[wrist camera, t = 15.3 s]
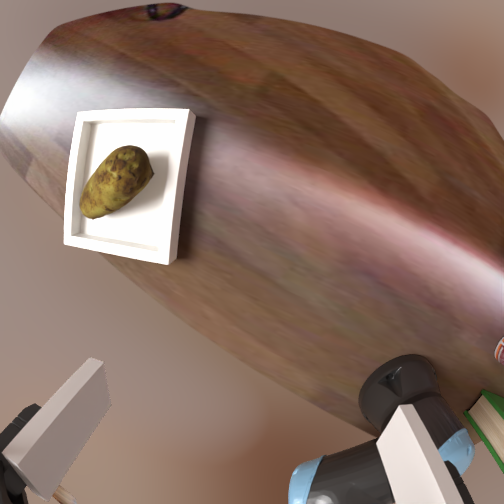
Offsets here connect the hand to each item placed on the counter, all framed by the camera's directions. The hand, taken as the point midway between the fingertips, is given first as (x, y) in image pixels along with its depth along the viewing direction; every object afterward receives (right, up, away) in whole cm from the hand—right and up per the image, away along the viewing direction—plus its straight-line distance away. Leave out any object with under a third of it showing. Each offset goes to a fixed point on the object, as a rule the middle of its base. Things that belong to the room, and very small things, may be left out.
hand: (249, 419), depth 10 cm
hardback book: (+60, -32, +33) cm, 75 cm away
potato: (-18, +17, +26) cm, 36 cm away
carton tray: (-18, +17, +27) cm, 36 cm away
